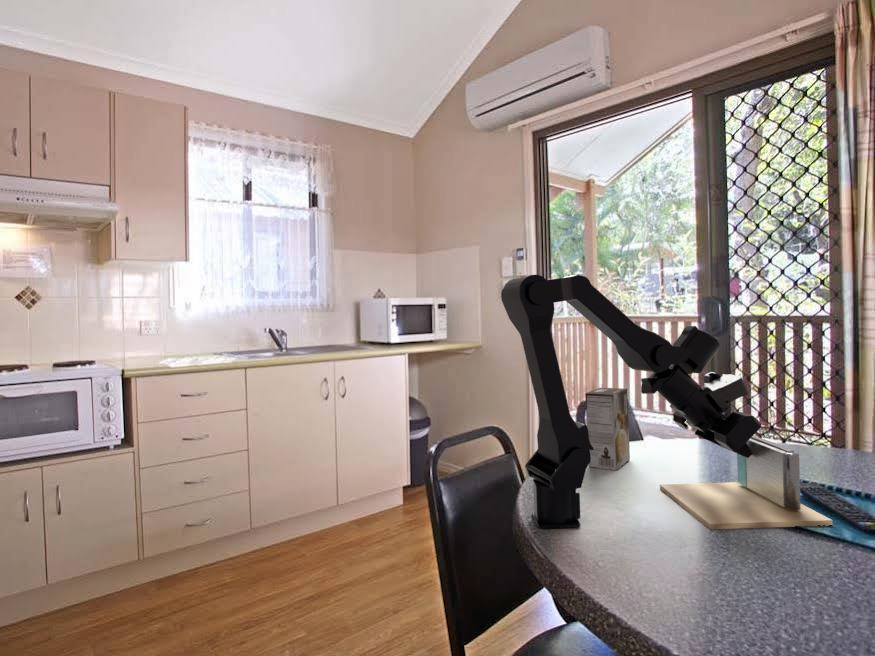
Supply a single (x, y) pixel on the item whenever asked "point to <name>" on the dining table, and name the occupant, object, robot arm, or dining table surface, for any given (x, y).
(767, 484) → the jaw
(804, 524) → the base
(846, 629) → the dining table surface
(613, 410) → the coffee box
